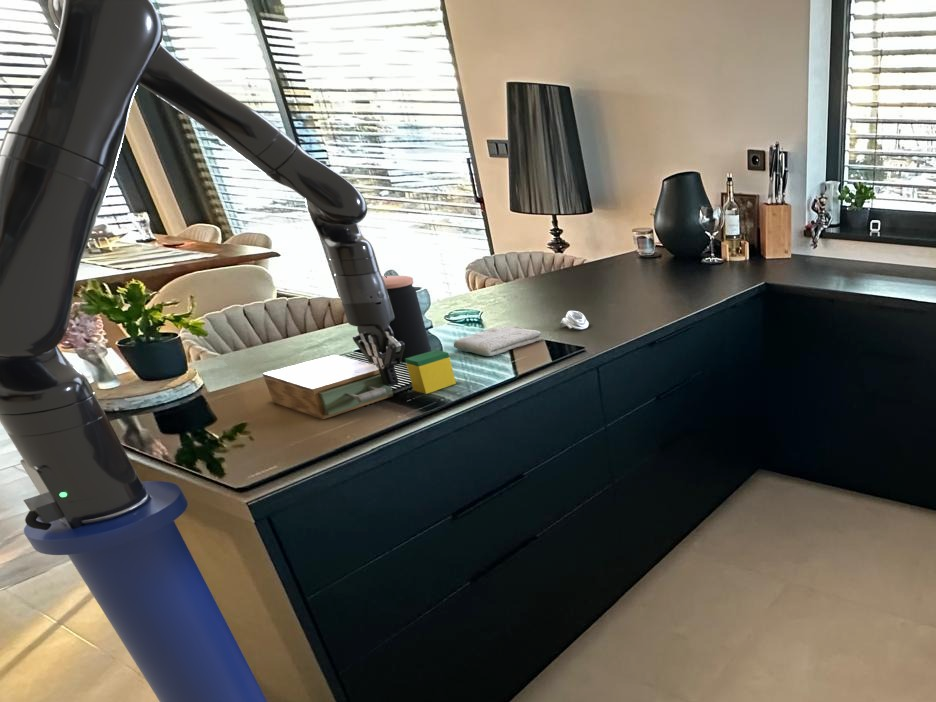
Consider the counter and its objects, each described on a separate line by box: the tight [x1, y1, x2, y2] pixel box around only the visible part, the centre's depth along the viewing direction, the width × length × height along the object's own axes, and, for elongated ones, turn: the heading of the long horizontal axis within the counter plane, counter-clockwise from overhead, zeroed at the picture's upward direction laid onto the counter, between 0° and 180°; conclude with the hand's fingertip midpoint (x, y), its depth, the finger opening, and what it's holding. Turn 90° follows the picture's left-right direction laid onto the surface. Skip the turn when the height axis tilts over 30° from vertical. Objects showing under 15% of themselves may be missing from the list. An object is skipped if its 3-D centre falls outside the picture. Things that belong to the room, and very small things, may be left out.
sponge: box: [405, 349, 457, 395], centre depth 130 cm, size 7×4×7 cm, turn 153°
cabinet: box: [262, 354, 394, 420], centre depth 124 cm, size 17×14×6 cm
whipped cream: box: [559, 310, 589, 330], centre depth 174 cm, size 8×7×5 cm
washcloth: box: [453, 325, 543, 357], centre depth 158 cm, size 12×18×3 cm, turn 156°
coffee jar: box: [382, 275, 432, 363], centre depth 145 cm, size 11×11×18 cm
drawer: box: [318, 374, 394, 415], centre depth 122 cm, size 20×12×4 cm, turn 63°
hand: (391, 384), depth 123 cm, fingers closed
